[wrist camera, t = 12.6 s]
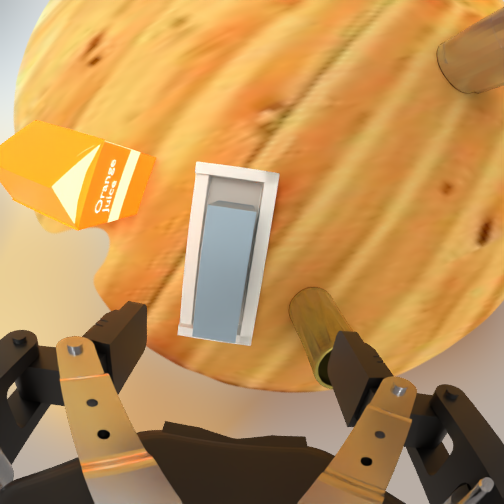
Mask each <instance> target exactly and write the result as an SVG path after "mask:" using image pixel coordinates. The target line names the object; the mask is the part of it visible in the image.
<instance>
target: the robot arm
mask: <svg viewBox="0 0 504 504" xmlns="http://www.w3.org/2000/svg"><path fill="white" fill-rule="evenodd" d="M437 58H438V63H439V66H440V68H441V70H442V72H443V74H444V75H445V77H446V78H447V79H448V81H449V82H450V83H451V84H452V85H453V86H454V87H455V88H457V89H458V90H460V91H462V92H465V93H471V92H476V93H481V92H484V91H487V90H491V89H494V88H497V87H500V86H504V7H503V8H501V9H499V10H497V11H495V12H494V13H492V14H490V15H489V16H487V17H485V18H483V19H482V20H480V21H478V22H476V23H475V24H473V25H471V26H470V27H468V28H466V29H465V30H463V31H462V32H460V33H458V34H457V35H455V36H453V37H452V38H450V39H449V40H447V41H446V42H444V43H442V44H441V45H440V46H439V47H438V50H437ZM146 341H147V307H146V305H145V304H141V303H136V302H131V301H128V302H127V303H126V304H125V305H124V306H123V307H122V308H121V309H120V310H114V311H111V312H109V313H106V314H105V315H104V316H103V317H102V318H101V319H100V320H99V321H98V322H97V323H96V324H95V325H94V326H93V327H92V328H90V329H89V330H88V331H87V332H86V333H85V334H84V335H83V336H82V337H79V336H78V337H77V336H72V337H67V338H64V339H62V340H61V341H59V342H58V343H57V345H56V347H46V346H38V341H37V337H36V335H35V334H34V333H32V332H30V331H26V330H17V331H13V332H10V333H9V334H7V335H6V336H4V337H3V338H2V339H1V340H0V504H406V503H404V502H402V501H401V500H399V499H397V498H396V497H394V496H393V495H391V494H390V493H388V492H386V491H385V490H386V488H387V486H388V484H389V481H390V479H391V476H392V474H393V472H394V469H395V467H396V464H397V462H398V459H399V457H400V454H401V452H402V449H403V446H404V447H406V448H407V451H408V453H409V455H410V458H411V460H412V462H413V465H414V467H415V469H416V471H417V474H418V476H419V478H420V481H421V483H422V486H423V488H424V490H425V493H426V495H427V498H428V500H429V503H430V504H504V444H503V443H502V441H501V440H500V438H499V437H498V436H497V435H496V433H495V432H494V430H493V429H492V428H491V427H490V425H489V424H488V423H487V421H486V420H485V419H484V417H483V416H482V415H481V413H480V412H479V411H478V410H477V408H476V407H475V406H474V405H473V403H472V402H471V401H470V400H469V398H468V397H467V396H466V395H465V393H464V392H463V391H462V390H460V389H459V388H456V387H454V386H452V385H446V384H444V385H439V386H438V387H437V388H436V390H435V392H434V394H433V395H426V394H419V393H417V389H416V387H415V386H414V385H413V384H412V383H411V382H410V381H408V380H406V379H404V378H400V377H394V376H393V375H392V373H391V372H390V370H389V369H388V367H387V366H386V365H385V363H383V360H382V359H381V357H379V355H378V353H377V352H376V350H375V349H374V348H372V347H371V346H369V345H368V344H367V343H364V342H363V340H362V339H361V337H360V336H359V334H358V333H357V332H353V331H339V332H338V333H337V335H336V339H335V342H334V346H333V349H332V352H331V356H330V359H329V362H328V377H329V379H330V382H331V384H332V387H333V390H334V392H335V395H336V398H337V400H338V403H339V406H340V408H341V411H342V414H343V416H344V419H345V422H346V424H347V427H354V428H353V430H352V432H351V433H350V435H349V436H348V438H347V439H346V441H345V442H344V444H343V445H342V447H341V448H340V450H339V451H338V453H337V454H336V455H335V456H334V455H332V454H330V453H328V452H326V451H323V450H320V449H317V448H313V447H309V446H307V442H306V437H297V436H273V435H271V436H264V437H254V438H243V439H234V438H230V437H227V436H223V435H220V434H217V433H214V432H211V431H208V430H205V429H202V428H199V427H194V426H187V425H182V424H177V423H172V422H167V421H165V424H164V427H163V430H152V431H143V432H138V433H136V432H135V430H134V428H133V426H132V424H131V422H130V420H129V418H128V416H127V414H126V412H125V409H124V407H123V405H122V403H121V401H120V399H119V397H118V394H119V392H120V391H121V389H122V387H123V385H124V383H125V382H126V380H127V379H128V377H129V375H130V374H131V372H132V370H133V369H134V367H135V365H136V364H137V362H138V360H139V359H140V357H141V355H142V354H143V352H144V350H145V347H146ZM14 382H15V383H16V386H17V389H16V390H15V391H14V392H13V394H12V395H11V396H10V397H9V398H8V399H7V391H8V389H9V387H10V386H11V385H12V384H13V383H14ZM51 404H54V405H61V406H65V409H66V413H67V418H68V422H69V426H70V430H71V433H72V437H73V441H74V444H75V447H76V451H77V454H78V458H75V459H73V460H70V461H67V462H65V463H62V464H60V465H57V466H54V467H52V468H49V469H46V470H43V471H40V472H38V473H34V474H31V475H29V476H25V477H22V478H19V479H16V480H14V481H13V477H14V471H13V468H12V466H11V465H12V463H13V462H14V460H15V458H16V457H17V455H18V453H19V452H20V450H21V449H22V447H23V445H24V444H25V442H26V441H27V439H28V438H29V436H30V434H31V433H32V431H33V430H34V428H35V427H36V425H37V424H38V422H39V421H40V419H41V418H42V416H43V415H44V414H45V412H46V410H47V409H48V408H49V406H50V405H51ZM447 432H448V434H449V435H450V437H451V439H452V441H453V451H452V453H451V455H449V453H448V452H447V450H446V448H445V446H444V445H443V443H442V440H443V438H444V437H445V435H446V434H447Z"/></svg>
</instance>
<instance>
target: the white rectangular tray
mask: <svg viewBox="0 0 504 504" xmlns="http://www.w3.org/2000/svg"><path fill="white" fill-rule="evenodd" d="M195 173H196V179H195V186H194V193H193V200H192V207H191V215H190V223H189V231H188V240H187V249H186V258H185V268H184V278H183V290H182V301H181V315H180V324H179V326H178V335H181V336H187V337H192V334H193V324H194V311H195V301H196V292H197V283H198V274H199V266H200V257H201V249H202V242H203V234H204V227H205V220H206V214H207V207H208V204H211V203H213V202H216V201H218V200H220V201H227V202H234V203H240V204H247V205H253V206H254V208H255V210H256V218H255V224H254V230H253V237H252V243H251V249H250V255H249V261H248V267H247V274H246V280H245V286H244V292H243V298H242V304H241V311H240V317H239V323H238V329H237V335H236V342H235V343H233V344H240V345H248V346H251V341H252V335H253V330H254V324H255V318H256V313H257V307H258V301H259V295H260V290H261V284H262V278H263V272H264V266H265V260H266V254H267V248H268V242H269V236H270V230H271V224H272V218H273V212H274V206H275V199H276V193H277V187H278V181H279V174H280V173H274V172H268V171H262V170H255V169H249V168H242V167H235V166H228V165H220V164H212V163H204V162H196V168H195ZM193 338H198V337H193ZM199 339H204V338H199ZM205 340H211V339H205ZM212 341H217V340H212ZM218 342H224V341H218ZM225 343H231V342H225Z"/></svg>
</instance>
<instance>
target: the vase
mask: <svg viewBox="0 0 504 504" xmlns="http://www.w3.org/2000/svg"><path fill="white" fill-rule="evenodd" d="M289 316H290V318H291V320H292V322H293V324H294V326H295V329H296V331H297V333H298V335H299V337H300V339H301V342H302V344H303V346H304V349H305V351H306V353H307V356H308V359H309V362H310V365H311V367H312V370H313V374H314V376H315V378H316V380H317V381H318V382H319V383H320V384H321V385H322V386H324V387H326V388H329V389H333V387H332V384H331V382H330V379H329V377H328V362H329V359H330V356H331V352H332V349H333V346H334V342H335V339H336V335H337V333H338V332H339V331H352V329H351V328H350V326H349V324H348V323H347V321H346V320H345V318H344V317H343V315H342V314H341V312H340V311H339V309H338V307H337V306H336V304H335V303H334V301H333V298H332V297H331V295H330V294H329V293H328V292H327V291H325V290H323V289H321V288H316V287H313V288H307V289H304V290H302V291H301V292H299V293H298V294H297V295H296V296H295V297H294V298H293V299H292V301H291V303H290V307H289Z"/></svg>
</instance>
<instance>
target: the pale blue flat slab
mask: <svg viewBox="0 0 504 504" xmlns="http://www.w3.org/2000/svg"><path fill="white" fill-rule="evenodd" d="M255 218H256V210H255V208H254V206H253V205H247V204H240V203H234V202H227V201H220V200H218V201H216V202H213V203H211V204H208V207H207V214H206V220H205V227H204V234H203V242H202V249H201V257H200V266H199V274H198V283H197V292H196V301H195V311H194V324H193V334H192V337H198V338H204V339H211V340H217V341H224V342H231V343H235V342H236V335H237V329H238V323H239V317H240V311H241V304H242V298H243V292H244V286H245V280H246V274H247V267H248V261H249V255H250V249H251V243H252V237H253V230H254V224H255Z"/></svg>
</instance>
